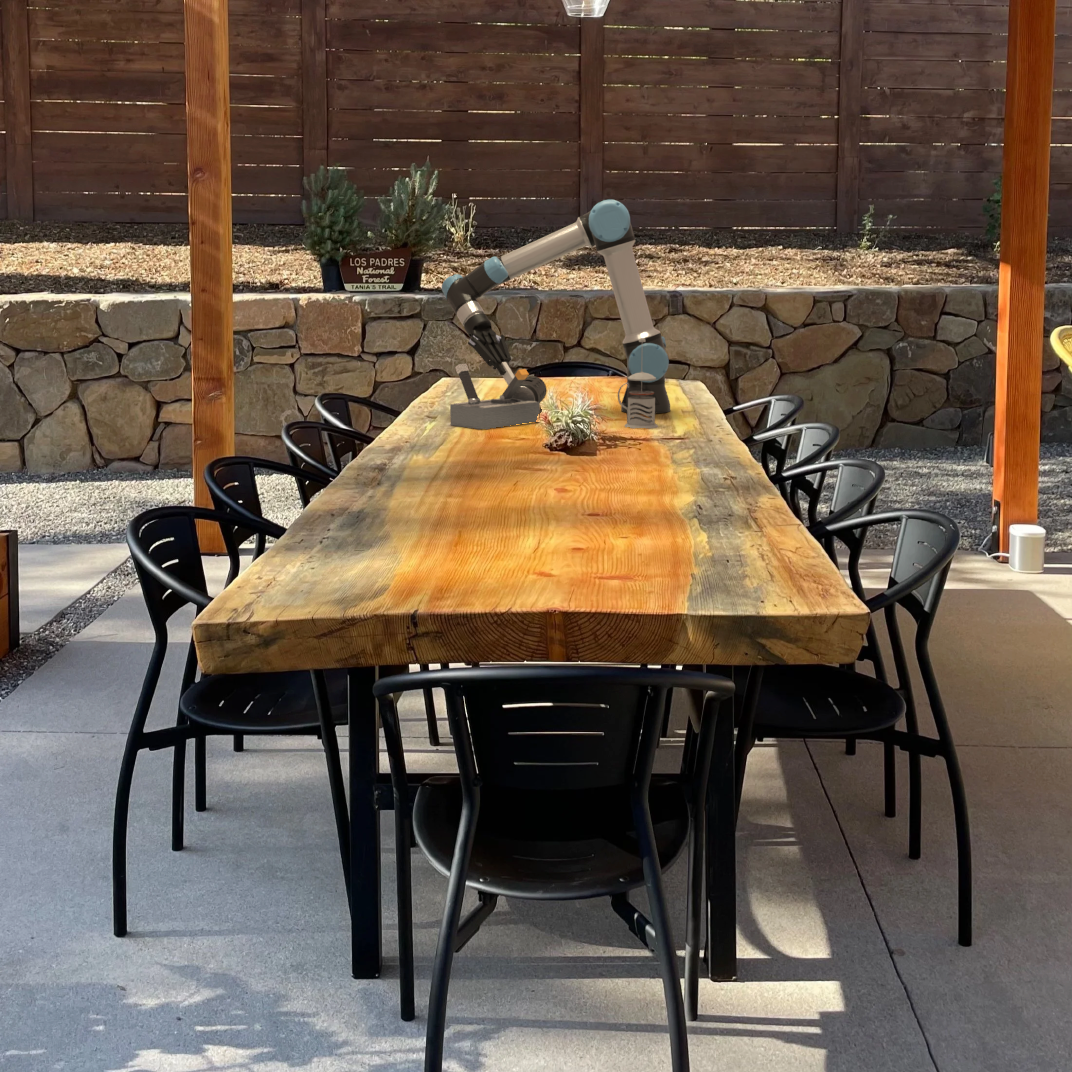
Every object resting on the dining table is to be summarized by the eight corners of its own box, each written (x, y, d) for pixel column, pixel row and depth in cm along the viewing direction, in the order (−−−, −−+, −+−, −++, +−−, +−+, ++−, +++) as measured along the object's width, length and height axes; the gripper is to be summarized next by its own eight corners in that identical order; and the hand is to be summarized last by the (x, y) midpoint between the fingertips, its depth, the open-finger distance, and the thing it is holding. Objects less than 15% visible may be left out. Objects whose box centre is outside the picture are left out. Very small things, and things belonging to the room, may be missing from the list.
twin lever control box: (507, 418, 405) (506, 359, 402) (539, 422, 396) (539, 362, 392) (450, 425, 391) (449, 364, 387) (482, 429, 381) (481, 367, 377)
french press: (656, 429, 381) (657, 339, 376) (615, 428, 383) (616, 338, 378) (660, 424, 390) (661, 336, 385) (620, 423, 393) (620, 336, 387)
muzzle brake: (547, 407, 432) (547, 375, 430) (537, 419, 405) (537, 384, 402) (517, 407, 433) (517, 375, 431) (505, 418, 406) (505, 384, 403)
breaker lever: (506, 396, 396) (525, 369, 388) (509, 402, 396) (529, 374, 388) (498, 397, 394) (518, 369, 386) (501, 402, 394) (521, 374, 386)
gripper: (485, 328, 406) (522, 389, 398) (451, 330, 397) (489, 392, 389) (497, 311, 401) (535, 372, 393) (463, 312, 392) (501, 375, 384)
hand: (512, 382), depth 391 cm, fingers closed
